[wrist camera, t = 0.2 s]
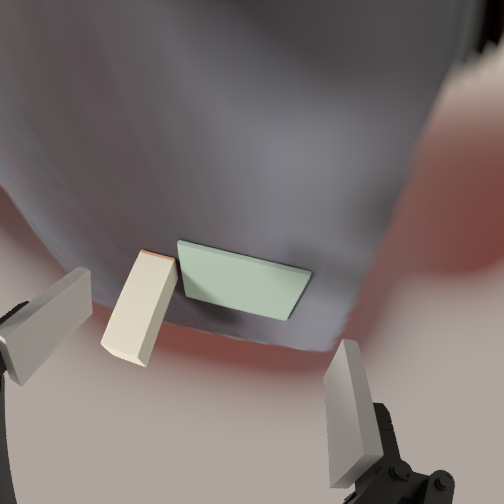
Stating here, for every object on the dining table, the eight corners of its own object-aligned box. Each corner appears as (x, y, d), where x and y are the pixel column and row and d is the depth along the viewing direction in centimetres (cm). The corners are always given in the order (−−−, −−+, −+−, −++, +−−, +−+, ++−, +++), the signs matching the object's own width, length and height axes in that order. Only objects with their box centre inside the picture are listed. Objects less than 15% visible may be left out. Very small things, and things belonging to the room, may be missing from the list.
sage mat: (178, 239, 35) (177, 243, 35) (311, 271, 35) (310, 275, 35) (187, 293, 47) (185, 296, 46) (286, 317, 46) (285, 320, 46)
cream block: (141, 249, 39) (100, 343, 31) (174, 258, 39) (137, 357, 31) (147, 268, 43) (112, 354, 35) (178, 277, 43) (146, 367, 35)
